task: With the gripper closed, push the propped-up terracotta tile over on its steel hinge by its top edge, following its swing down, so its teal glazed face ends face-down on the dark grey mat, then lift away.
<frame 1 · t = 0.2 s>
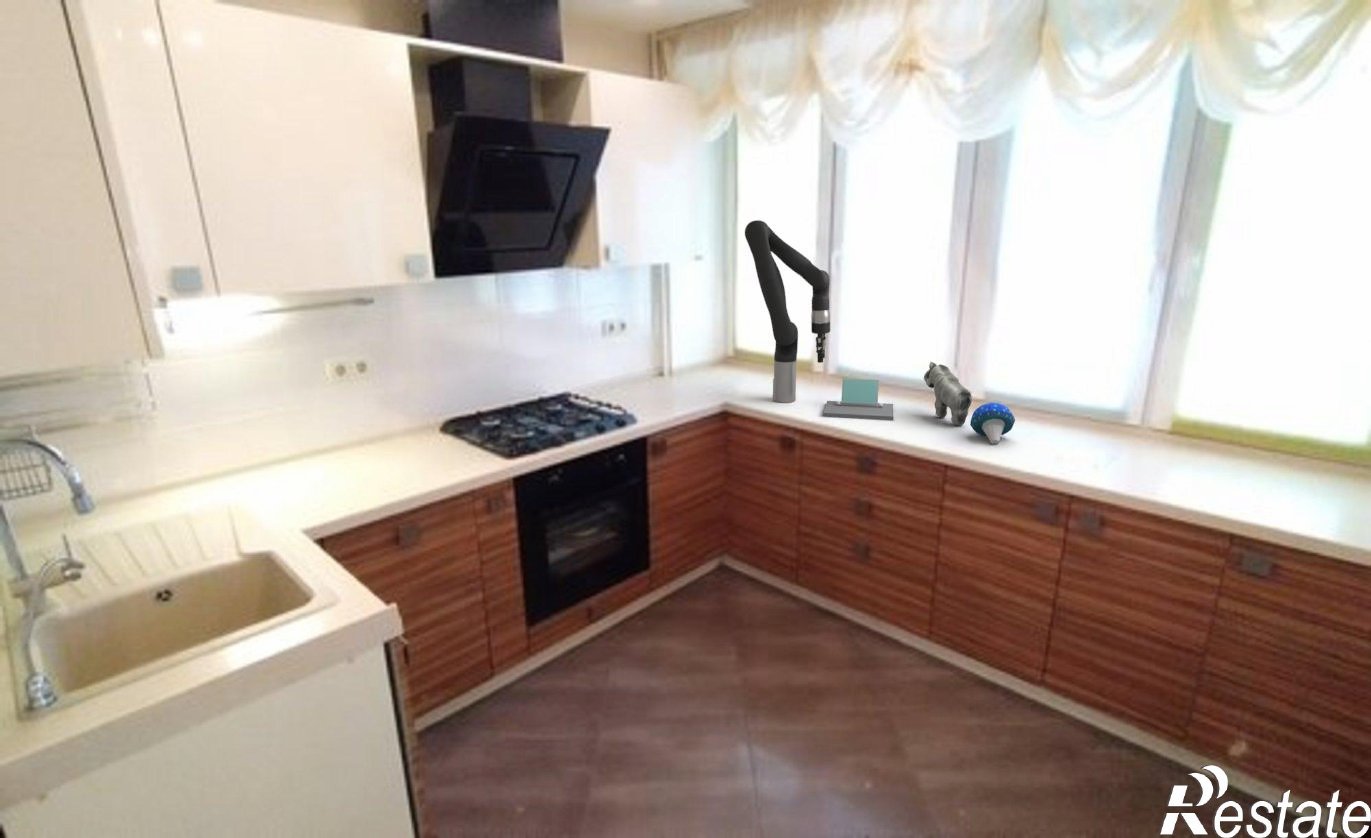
hand: (821, 360, 273), 18 cm above the worktop, tool pointing down, fingers open, 8 cm apart
grey animal figure: (942, 419, 252), on the worktop
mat: (858, 411, 263), on the worktop
mushroom: (990, 439, 229), on the worktop
tile: (860, 391, 265), point 7 cm above the worktop, hinge at 70.0°
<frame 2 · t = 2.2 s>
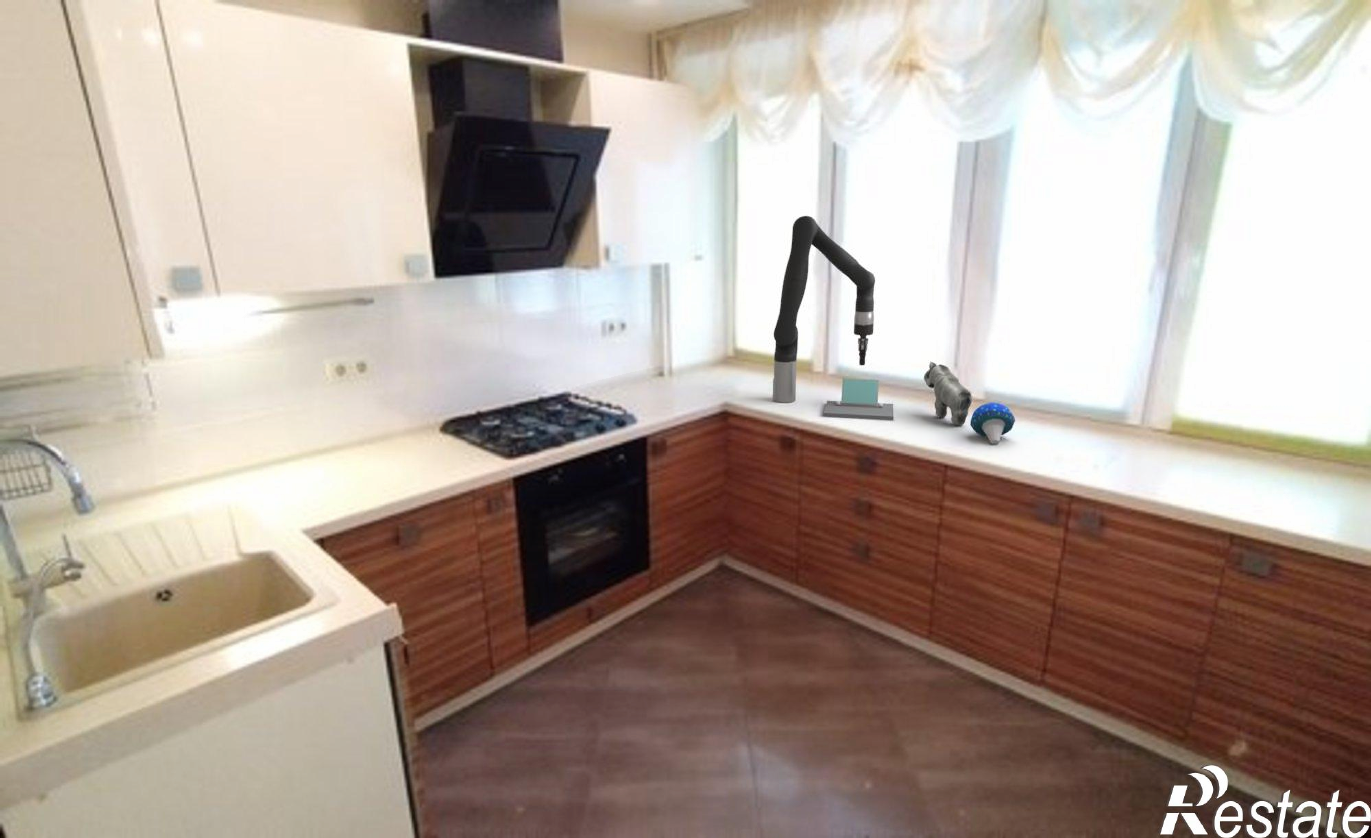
hand: (862, 364, 270), 16 cm above the worktop, tool pointing down, fingers closed
nothing on the worktop moved.
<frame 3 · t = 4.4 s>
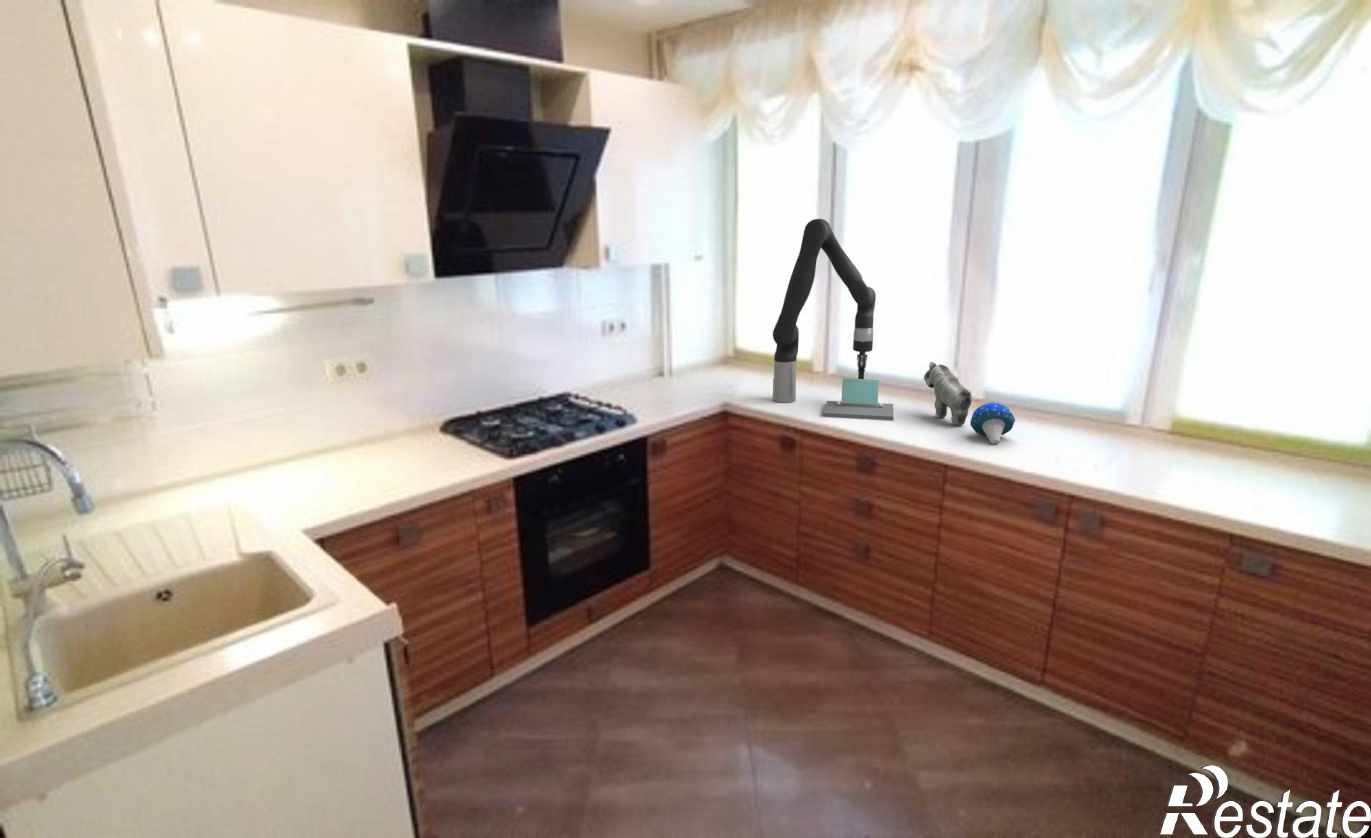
hand: (860, 381, 268), 10 cm above the worktop, tool pointing down, fingers closed
tile: (860, 391, 265), point 7 cm above the worktop, hinge at 70.4°, touching gripper
everything else where it was.
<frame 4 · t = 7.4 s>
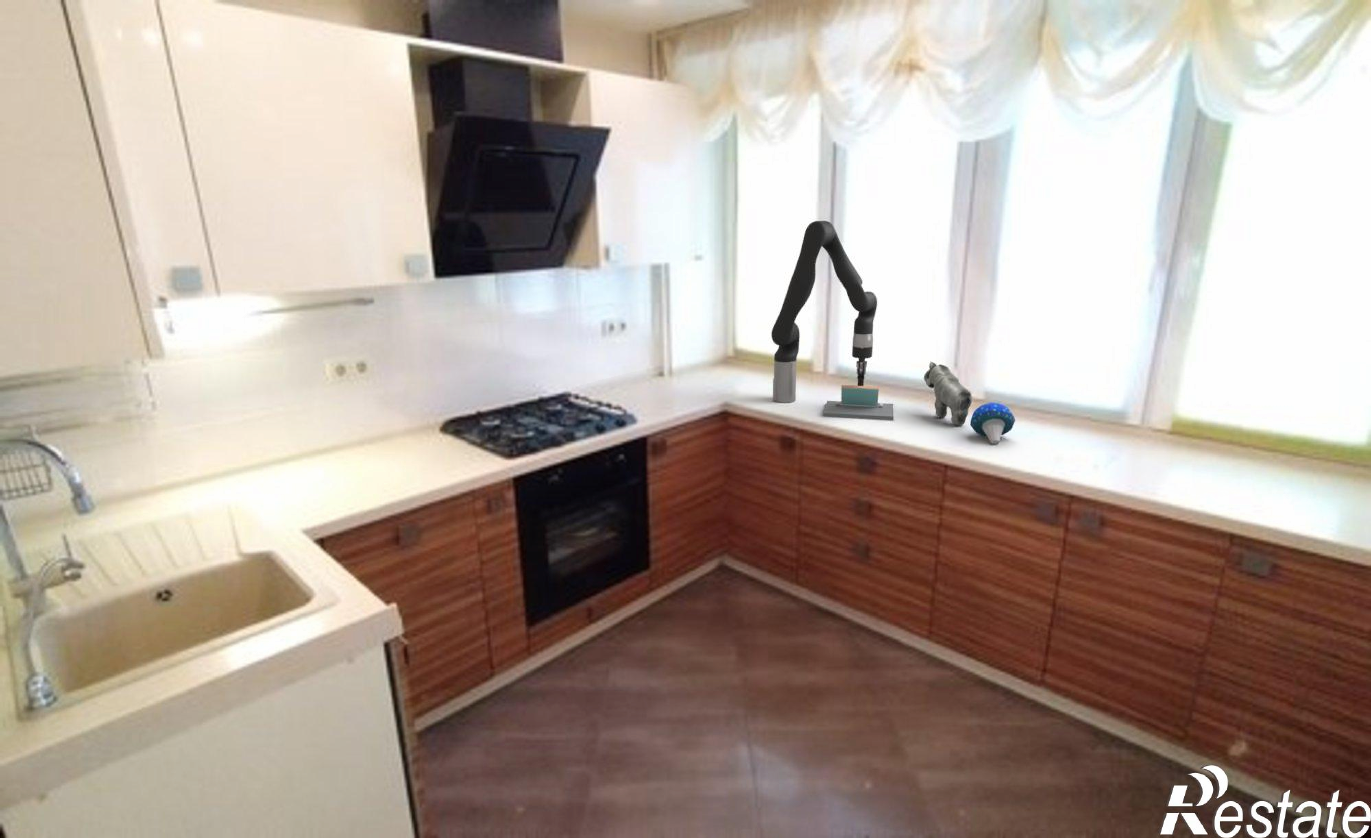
hand: (860, 388, 260), 10 cm above the worktop, tool pointing down, fingers closed
tile: (859, 395, 261), point 7 cm above the worktop, hinge at 123.4°, touching gripper
everything else where it was.
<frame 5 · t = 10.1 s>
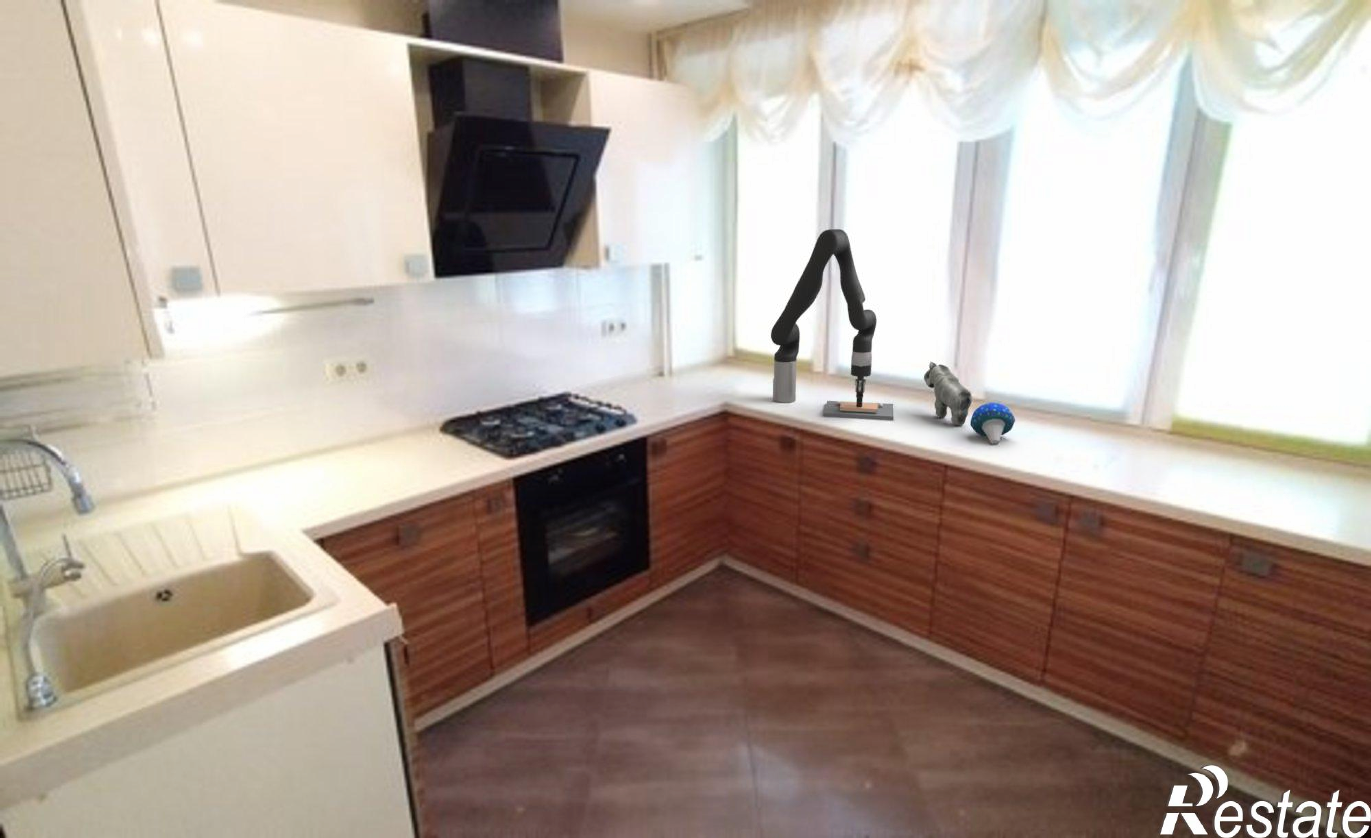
hand: (859, 406, 258), 3 cm above the worktop, tool pointing down, fingers closed
tile: (858, 407, 260), point 3 cm above the worktop, hinge at 177.6°, touching gripper
everything else where it was.
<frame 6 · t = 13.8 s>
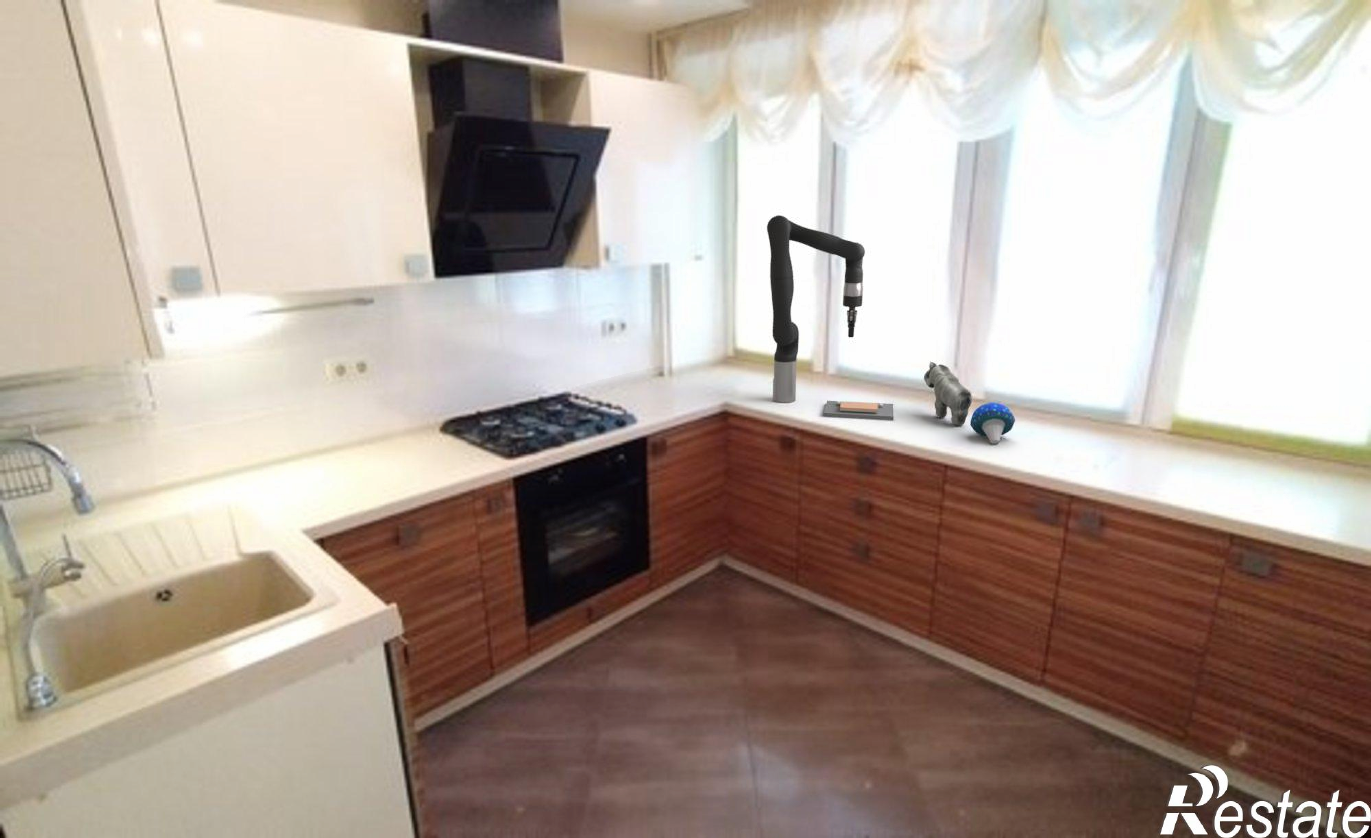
hand: (850, 337, 271), 27 cm above the worktop, tool pointing down, fingers closed
tile: (858, 407, 260), point 3 cm above the worktop, hinge at 177.7°
everything else where it was.
at the end: tile at +178° (first picture: +70°) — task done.
